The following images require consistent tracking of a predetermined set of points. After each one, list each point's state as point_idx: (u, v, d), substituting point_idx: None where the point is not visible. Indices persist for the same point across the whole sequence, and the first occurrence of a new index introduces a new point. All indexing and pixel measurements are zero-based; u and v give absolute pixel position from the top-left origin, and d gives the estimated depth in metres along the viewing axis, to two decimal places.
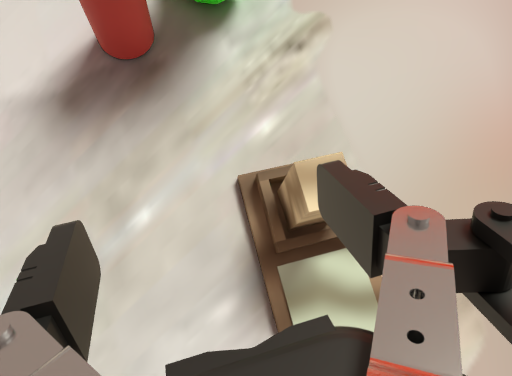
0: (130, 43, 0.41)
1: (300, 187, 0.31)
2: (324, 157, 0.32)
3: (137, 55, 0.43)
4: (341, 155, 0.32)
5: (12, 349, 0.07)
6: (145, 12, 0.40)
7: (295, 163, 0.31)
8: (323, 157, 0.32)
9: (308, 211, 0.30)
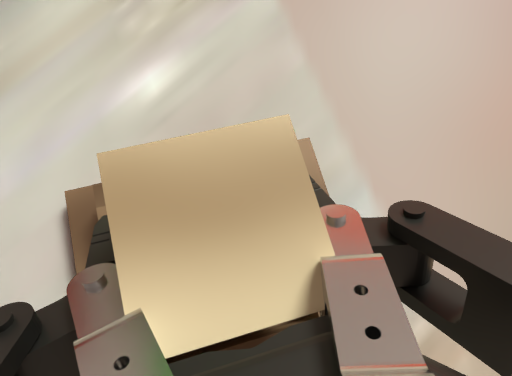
0: None
1: (118, 253, 0.08)
2: (221, 134, 0.08)
3: None
4: (285, 126, 0.09)
5: (101, 296, 0.08)
6: None
7: (102, 157, 0.08)
8: (217, 134, 0.08)
9: None
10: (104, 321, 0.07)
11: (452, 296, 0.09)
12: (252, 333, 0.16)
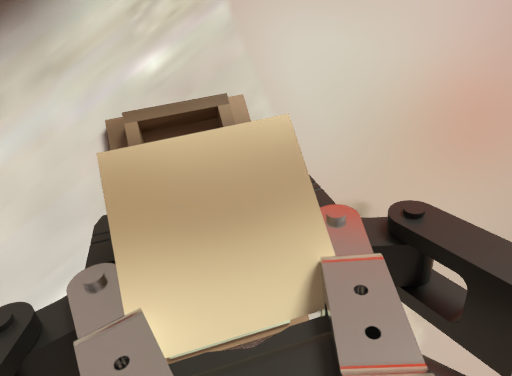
0: None
1: (117, 252, 0.08)
2: (221, 134, 0.08)
3: None
4: (286, 126, 0.09)
5: (101, 296, 0.08)
6: None
7: (102, 157, 0.08)
8: (217, 134, 0.08)
9: None
10: (104, 321, 0.07)
11: (452, 296, 0.09)
12: None
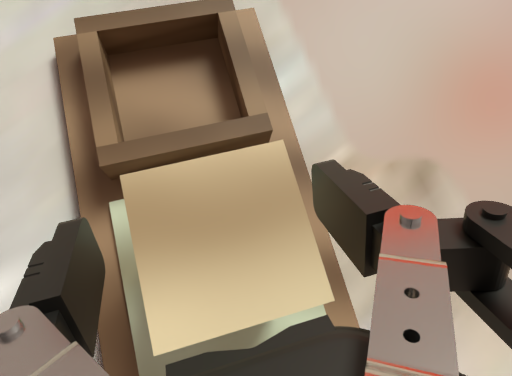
0: None
1: (138, 259, 0.09)
2: (225, 157, 0.10)
3: None
4: (280, 150, 0.10)
5: (21, 342, 0.07)
6: None
7: (124, 178, 0.09)
8: (221, 157, 0.10)
9: None
10: None
11: None
12: None
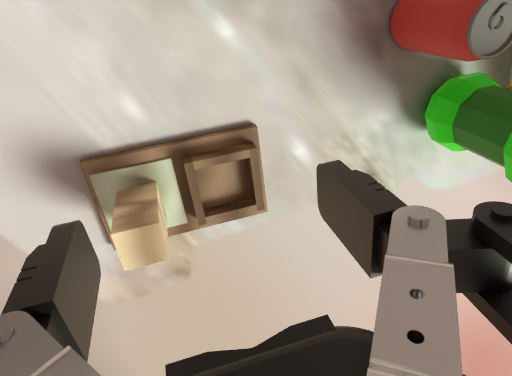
0: (403, 29, 0.40)
1: (135, 226, 0.35)
2: (164, 246, 0.36)
3: (392, 31, 0.42)
4: (166, 258, 0.37)
5: (12, 349, 0.07)
6: (429, 53, 0.39)
7: (157, 224, 0.35)
8: (164, 245, 0.36)
9: (111, 233, 0.34)
10: None
11: None
12: (199, 192, 0.45)
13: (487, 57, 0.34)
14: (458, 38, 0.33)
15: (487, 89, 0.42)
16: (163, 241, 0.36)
